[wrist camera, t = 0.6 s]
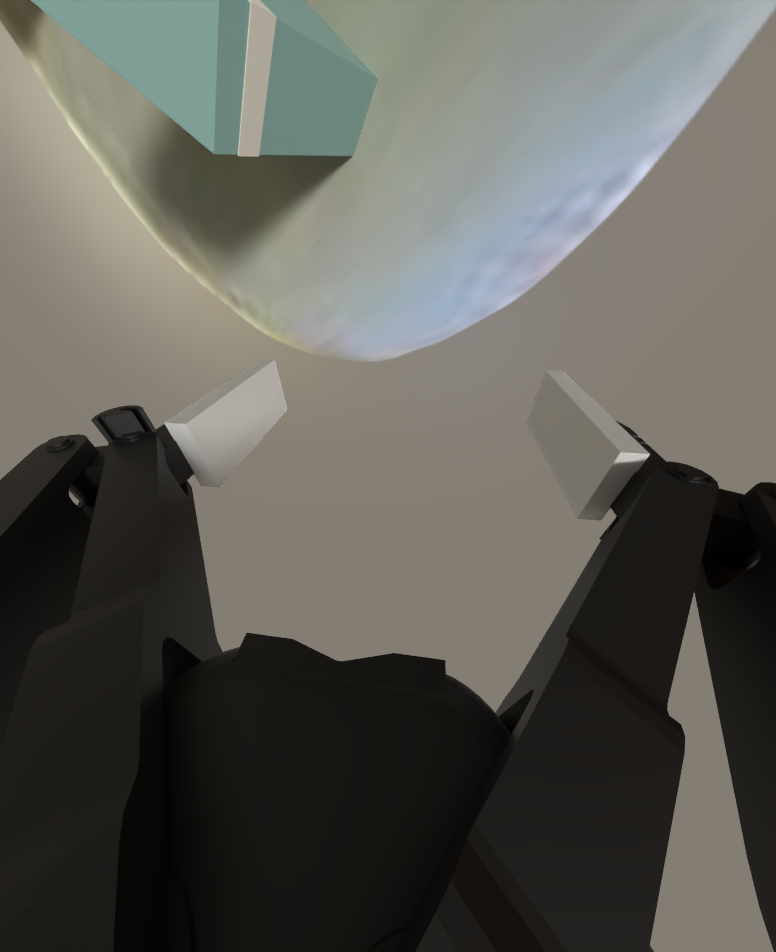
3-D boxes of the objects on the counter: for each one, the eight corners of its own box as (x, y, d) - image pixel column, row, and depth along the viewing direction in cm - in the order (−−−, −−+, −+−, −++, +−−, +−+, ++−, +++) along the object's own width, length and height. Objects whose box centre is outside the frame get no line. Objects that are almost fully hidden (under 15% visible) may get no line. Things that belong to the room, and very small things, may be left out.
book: (267, -41, 21) (-112, -350, 8) (378, 78, 23) (220, -17, 11) (256, 64, 24) (-13, -35, 12) (353, 157, 27) (214, 156, 14)
